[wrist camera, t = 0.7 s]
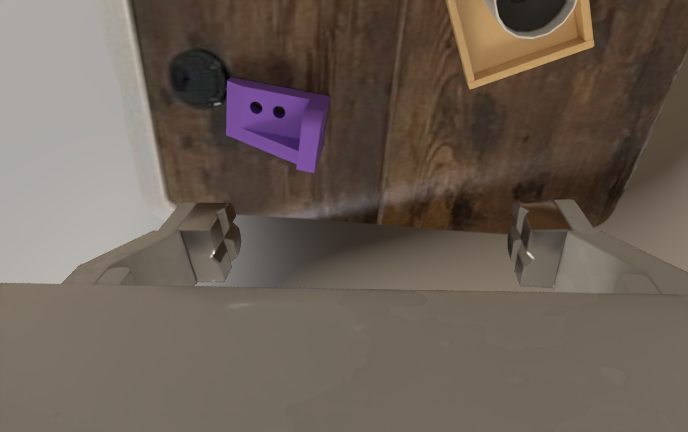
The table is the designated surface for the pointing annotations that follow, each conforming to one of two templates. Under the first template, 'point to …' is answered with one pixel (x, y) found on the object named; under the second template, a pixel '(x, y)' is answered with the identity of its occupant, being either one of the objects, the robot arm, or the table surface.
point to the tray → (511, 42)
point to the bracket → (278, 120)
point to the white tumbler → (530, 15)
